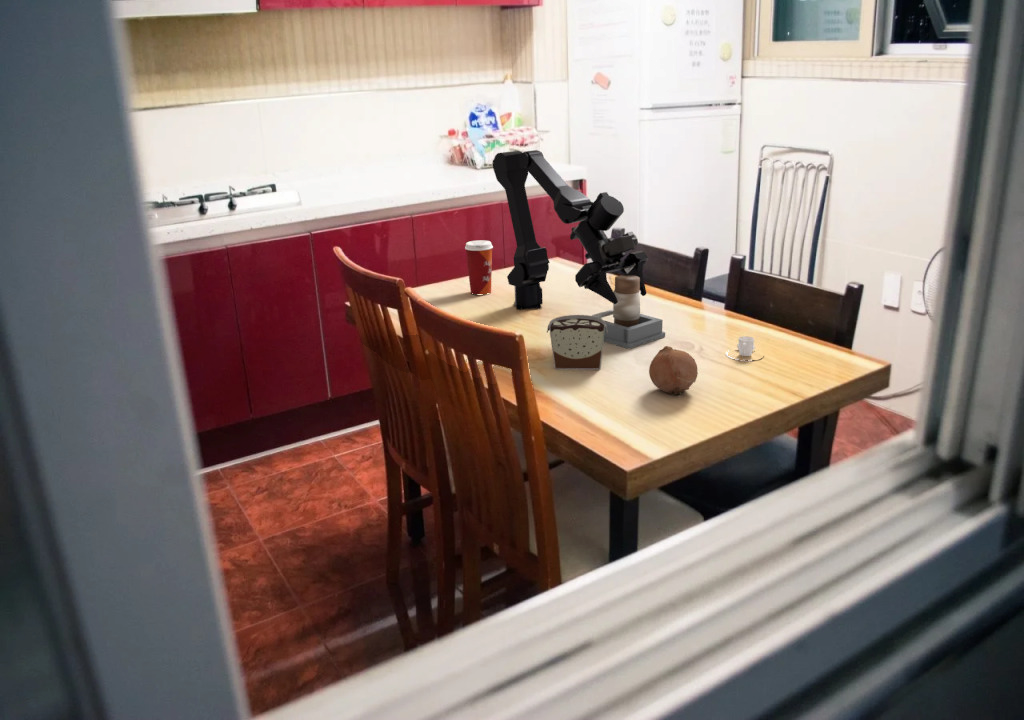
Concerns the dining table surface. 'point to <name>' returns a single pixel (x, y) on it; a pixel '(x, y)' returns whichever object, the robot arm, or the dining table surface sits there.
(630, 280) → the cord spool
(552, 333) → the food container
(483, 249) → the paper cup
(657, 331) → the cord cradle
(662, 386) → the onion
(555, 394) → the dining table surface
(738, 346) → the teacup and saucer
